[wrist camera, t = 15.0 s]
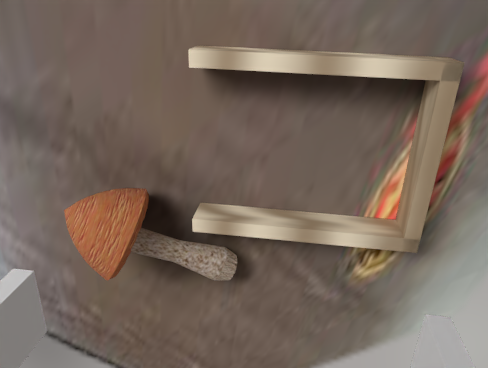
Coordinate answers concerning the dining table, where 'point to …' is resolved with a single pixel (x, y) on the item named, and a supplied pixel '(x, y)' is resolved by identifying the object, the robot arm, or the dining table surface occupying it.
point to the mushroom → (136, 237)
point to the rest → (419, 164)
